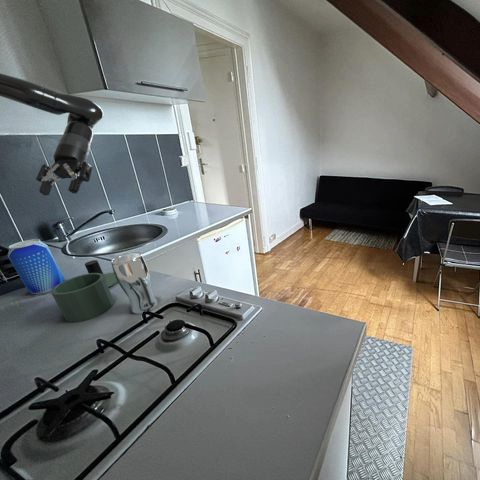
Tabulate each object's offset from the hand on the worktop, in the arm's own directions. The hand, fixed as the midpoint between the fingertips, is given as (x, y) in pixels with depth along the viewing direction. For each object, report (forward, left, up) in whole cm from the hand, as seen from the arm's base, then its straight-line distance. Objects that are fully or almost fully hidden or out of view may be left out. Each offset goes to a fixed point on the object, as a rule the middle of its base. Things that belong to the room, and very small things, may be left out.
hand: (58, 193), depth 79 cm
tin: (+6, -25, -29) cm, 38 cm away
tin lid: (+4, -10, -28) cm, 30 cm away
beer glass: (+20, -31, -29) cm, 47 cm away
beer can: (-11, -5, -29) cm, 31 cm away
